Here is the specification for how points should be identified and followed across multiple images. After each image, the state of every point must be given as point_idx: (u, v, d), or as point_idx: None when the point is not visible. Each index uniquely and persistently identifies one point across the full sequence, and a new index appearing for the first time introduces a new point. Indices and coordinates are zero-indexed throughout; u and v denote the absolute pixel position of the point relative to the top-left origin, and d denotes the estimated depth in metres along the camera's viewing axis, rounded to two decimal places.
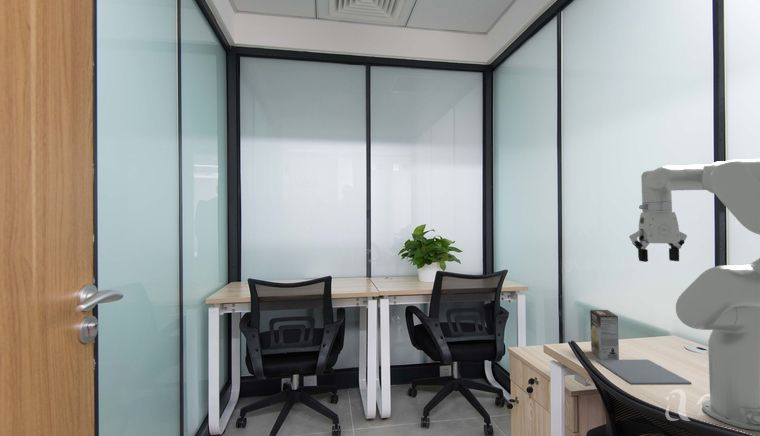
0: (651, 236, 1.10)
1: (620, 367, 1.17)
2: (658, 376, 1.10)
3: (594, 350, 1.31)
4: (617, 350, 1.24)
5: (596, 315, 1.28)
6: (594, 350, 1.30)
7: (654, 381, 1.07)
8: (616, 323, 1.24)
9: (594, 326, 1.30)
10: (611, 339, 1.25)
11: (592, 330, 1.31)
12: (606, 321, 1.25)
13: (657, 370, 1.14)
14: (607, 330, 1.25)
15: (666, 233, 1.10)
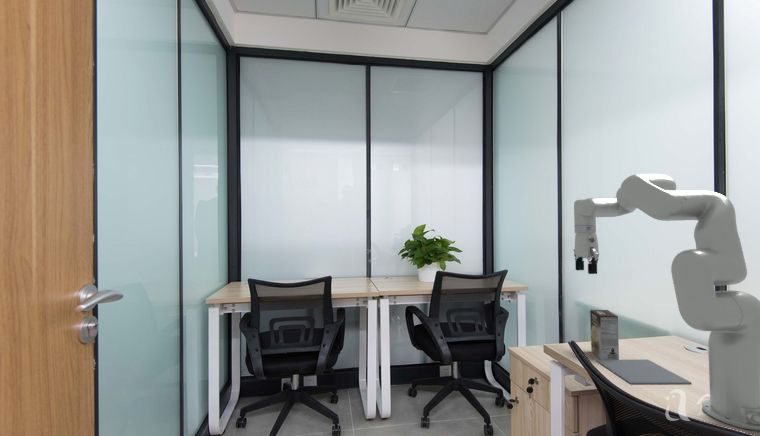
0: None
1: (620, 367, 1.17)
2: (658, 376, 1.10)
3: (594, 350, 1.31)
4: (617, 350, 1.24)
5: (596, 315, 1.28)
6: (594, 350, 1.30)
7: (654, 381, 1.07)
8: (616, 323, 1.24)
9: (594, 326, 1.30)
10: (611, 339, 1.25)
11: (592, 330, 1.31)
12: (606, 321, 1.25)
13: (657, 370, 1.14)
14: (607, 330, 1.25)
15: None
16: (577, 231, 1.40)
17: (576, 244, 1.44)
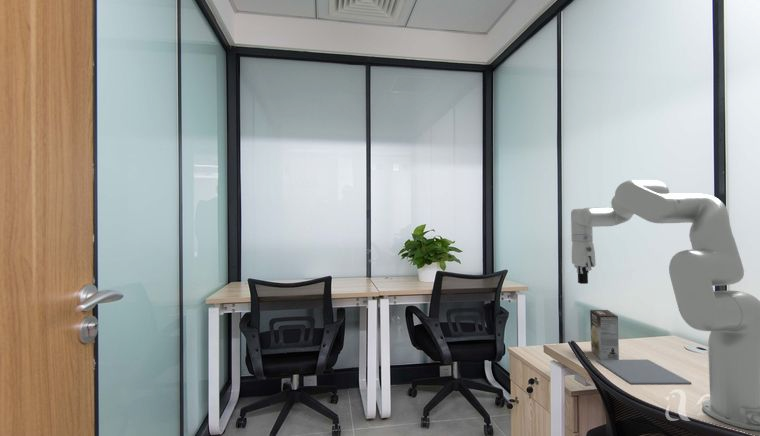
0: None
1: (620, 367, 1.17)
2: (658, 376, 1.10)
3: (594, 350, 1.31)
4: (617, 350, 1.24)
5: (596, 315, 1.28)
6: (594, 350, 1.30)
7: (654, 381, 1.07)
8: (616, 323, 1.24)
9: (594, 326, 1.30)
10: (611, 339, 1.25)
11: (592, 330, 1.31)
12: (606, 321, 1.25)
13: (657, 370, 1.14)
14: (607, 330, 1.25)
15: None
16: (574, 240, 1.42)
17: (573, 253, 1.45)
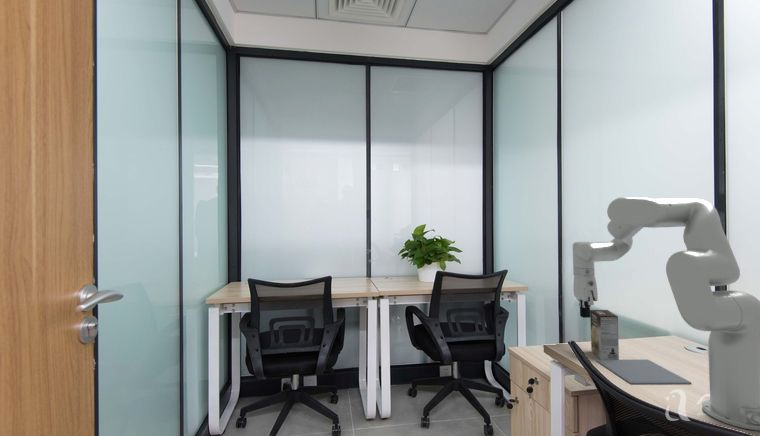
0: None
1: (620, 367, 1.17)
2: (658, 376, 1.10)
3: (594, 350, 1.31)
4: (617, 350, 1.24)
5: (596, 315, 1.28)
6: (594, 350, 1.30)
7: (654, 381, 1.07)
8: (616, 323, 1.24)
9: (594, 326, 1.30)
10: (611, 339, 1.25)
11: (592, 330, 1.31)
12: (606, 321, 1.25)
13: (657, 370, 1.14)
14: (607, 330, 1.25)
15: None
16: (576, 273, 1.41)
17: (575, 286, 1.44)
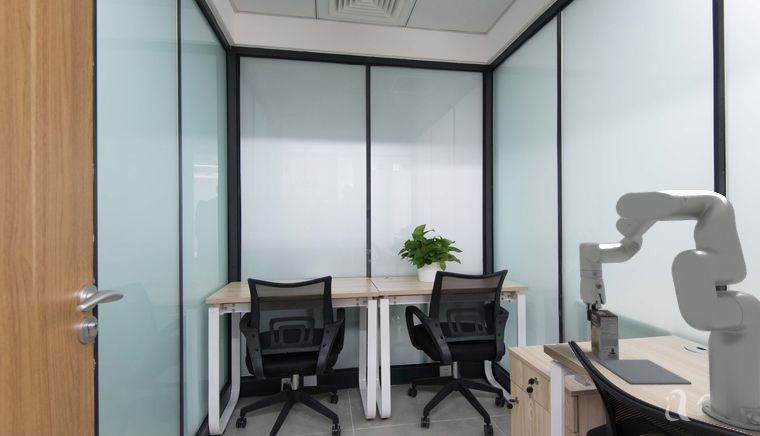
0: None
1: (620, 367, 1.17)
2: (658, 376, 1.10)
3: (594, 350, 1.31)
4: (617, 350, 1.24)
5: (596, 315, 1.28)
6: (594, 350, 1.30)
7: (654, 381, 1.07)
8: (616, 323, 1.24)
9: (594, 326, 1.30)
10: (611, 339, 1.25)
11: (592, 330, 1.31)
12: (606, 321, 1.25)
13: (657, 370, 1.14)
14: (607, 330, 1.25)
15: None
16: (583, 276, 1.36)
17: (582, 288, 1.39)
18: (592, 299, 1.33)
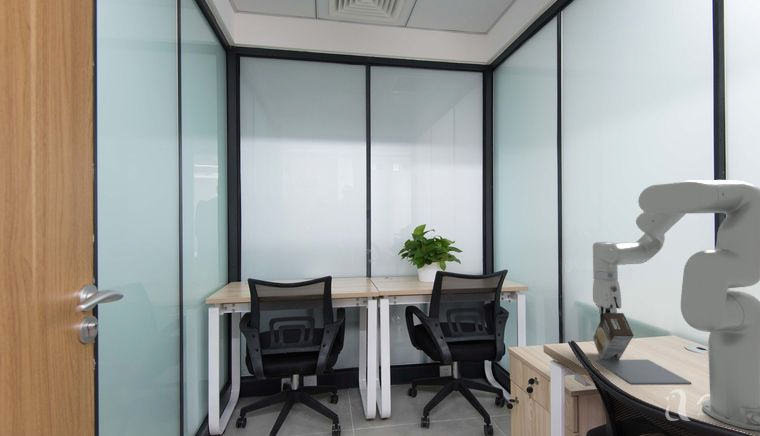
0: None
1: (620, 367, 1.17)
2: (658, 376, 1.10)
3: (596, 343, 1.29)
4: (620, 355, 1.22)
5: (610, 329, 1.18)
6: (596, 344, 1.28)
7: (654, 381, 1.07)
8: (629, 339, 1.16)
9: (604, 331, 1.22)
10: (617, 349, 1.20)
11: (600, 330, 1.24)
12: (619, 338, 1.16)
13: (657, 370, 1.14)
14: (617, 343, 1.18)
15: None
16: (597, 277, 1.27)
17: (595, 290, 1.30)
18: (606, 303, 1.23)
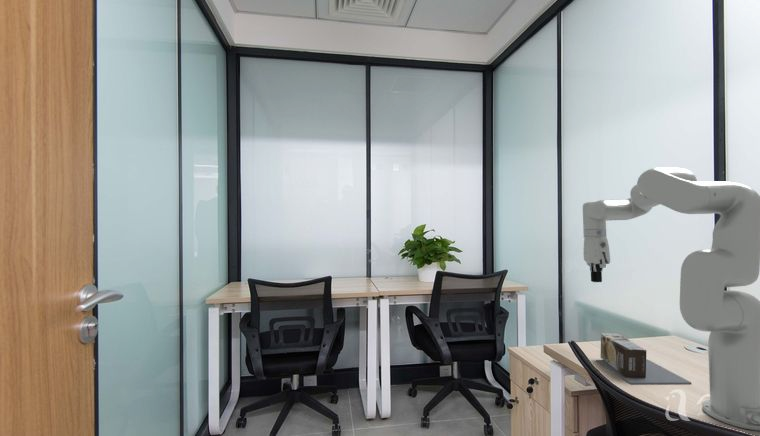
0: None
1: None
2: (658, 376, 1.10)
3: (602, 342, 1.24)
4: None
5: (623, 368, 1.10)
6: (602, 345, 1.24)
7: (654, 381, 1.07)
8: None
9: (616, 357, 1.15)
10: None
11: (612, 349, 1.17)
12: None
13: (657, 370, 1.14)
14: None
15: None
16: (587, 235, 1.33)
17: (585, 249, 1.36)
18: (596, 258, 1.29)
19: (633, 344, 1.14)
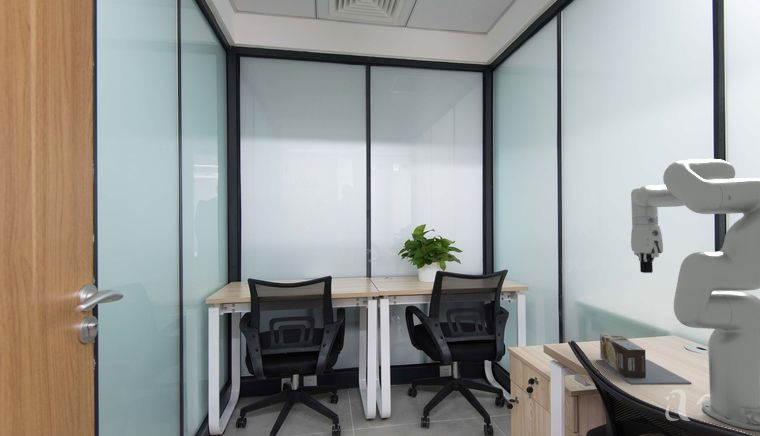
0: None
1: None
2: (658, 376, 1.10)
3: (601, 343, 1.24)
4: None
5: (623, 368, 1.10)
6: (602, 345, 1.24)
7: (654, 381, 1.07)
8: None
9: (615, 357, 1.15)
10: None
11: (612, 349, 1.17)
12: None
13: (657, 370, 1.14)
14: None
15: None
16: (637, 223, 1.25)
17: (634, 238, 1.29)
18: (648, 247, 1.22)
19: (632, 344, 1.14)
